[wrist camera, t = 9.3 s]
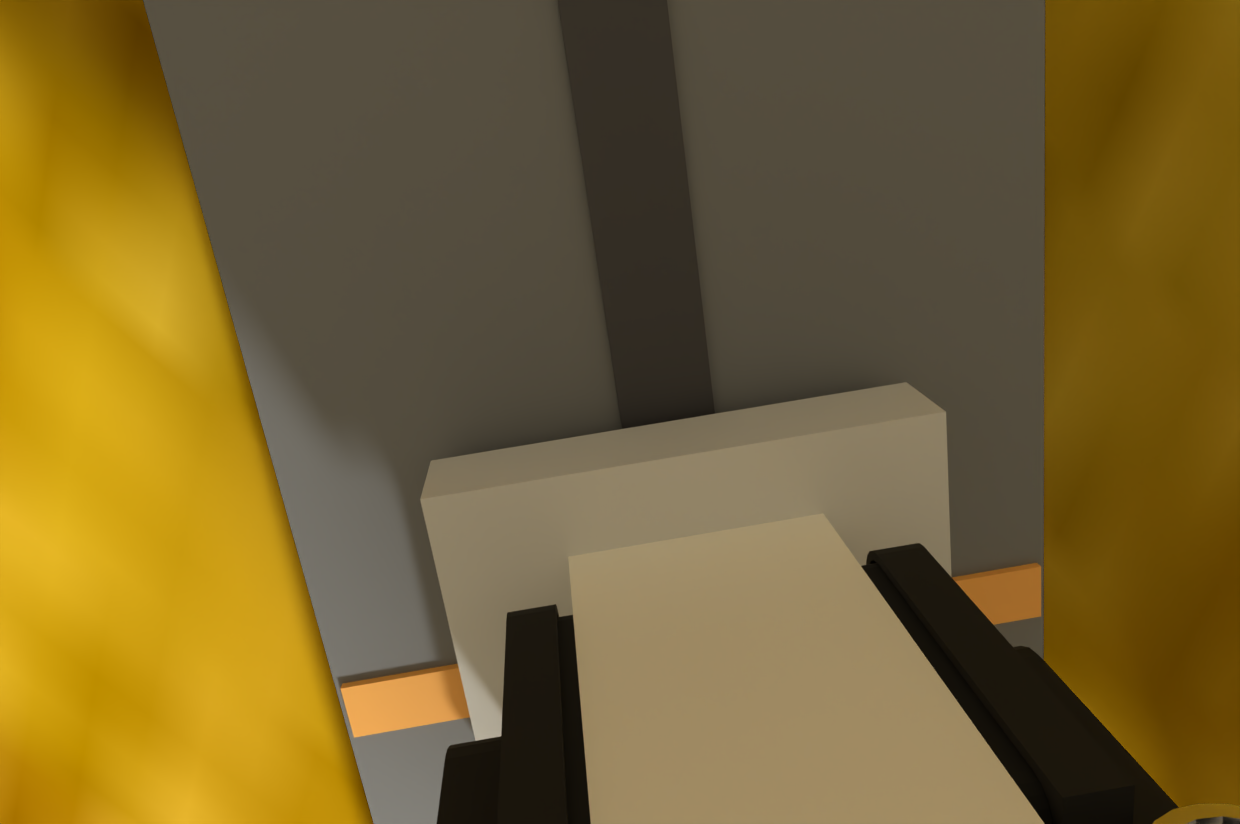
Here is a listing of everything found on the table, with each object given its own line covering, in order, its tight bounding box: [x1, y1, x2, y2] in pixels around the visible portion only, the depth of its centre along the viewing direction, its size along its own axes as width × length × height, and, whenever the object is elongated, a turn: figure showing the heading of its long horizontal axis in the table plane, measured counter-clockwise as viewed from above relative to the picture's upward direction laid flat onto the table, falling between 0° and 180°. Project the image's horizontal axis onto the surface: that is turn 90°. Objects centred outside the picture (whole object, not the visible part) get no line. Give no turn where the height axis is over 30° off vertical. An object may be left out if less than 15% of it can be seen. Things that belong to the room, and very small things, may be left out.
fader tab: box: [420, 382, 1044, 824], centre depth 9 cm, size 6×5×7 cm
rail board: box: [143, 0, 1045, 824], centre depth 12 cm, size 10×26×2 cm, turn 8°
